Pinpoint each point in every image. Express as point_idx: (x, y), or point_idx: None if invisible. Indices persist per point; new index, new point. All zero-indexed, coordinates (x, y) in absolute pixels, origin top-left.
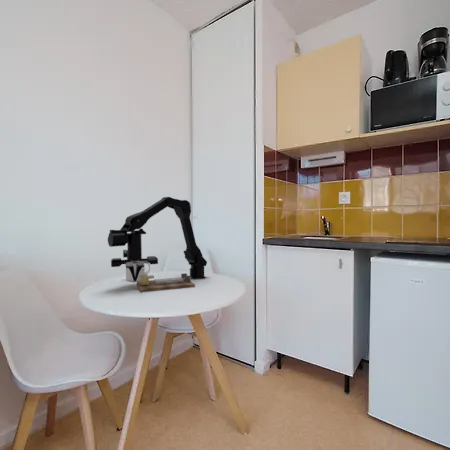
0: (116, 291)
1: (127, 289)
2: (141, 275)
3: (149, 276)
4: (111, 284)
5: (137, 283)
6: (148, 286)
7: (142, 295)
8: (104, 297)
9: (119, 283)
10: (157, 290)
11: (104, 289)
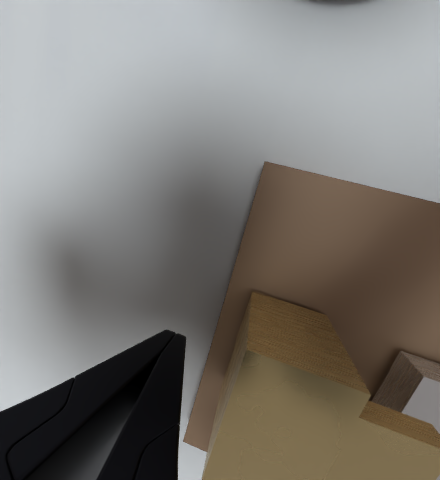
0: (73, 295)
1: (143, 294)
2: (257, 382)
3: (347, 471)
4: (65, 16)
5: (237, 255)
6: None
7: (178, 474)
8: (11, 367)
9: (135, 8)
10: None
11: (12, 187)
